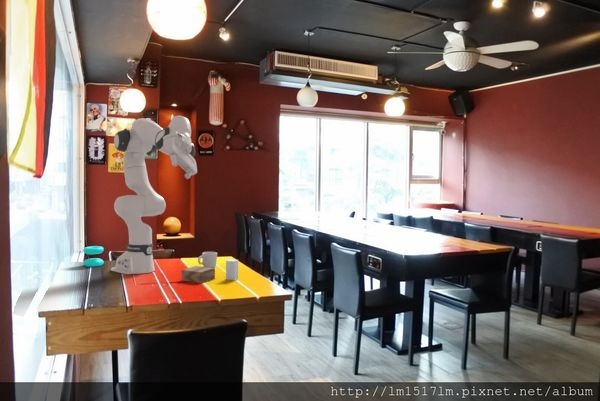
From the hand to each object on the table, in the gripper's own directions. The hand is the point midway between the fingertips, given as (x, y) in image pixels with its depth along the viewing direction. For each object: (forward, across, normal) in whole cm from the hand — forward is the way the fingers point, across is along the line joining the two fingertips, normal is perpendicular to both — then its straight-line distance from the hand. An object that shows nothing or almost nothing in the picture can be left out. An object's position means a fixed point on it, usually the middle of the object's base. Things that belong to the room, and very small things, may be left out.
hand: (181, 171), depth 186 cm
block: (+23, -57, -9) cm, 62 cm away
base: (+22, -49, -22) cm, 59 cm away
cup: (+5, -71, -29) cm, 77 cm away
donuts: (-6, -49, -86) cm, 99 cm away
